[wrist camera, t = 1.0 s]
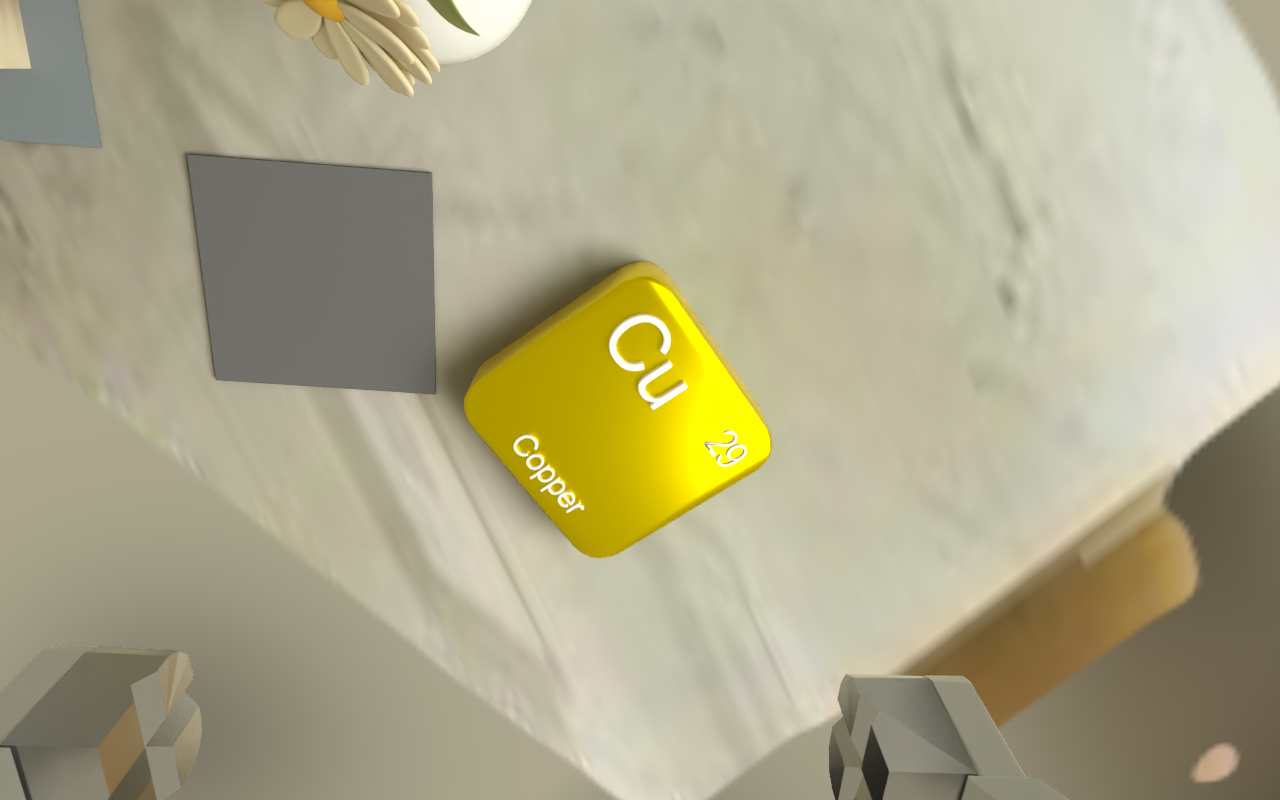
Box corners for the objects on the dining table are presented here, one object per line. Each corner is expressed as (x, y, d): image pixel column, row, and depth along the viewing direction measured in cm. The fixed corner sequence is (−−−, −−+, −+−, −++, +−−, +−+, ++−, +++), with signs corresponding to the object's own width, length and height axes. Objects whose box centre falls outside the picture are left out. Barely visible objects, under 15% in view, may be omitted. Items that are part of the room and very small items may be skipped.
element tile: (461, 376, 53) (446, 404, 49) (649, 246, 50) (652, 263, 46) (594, 536, 58) (592, 575, 53) (774, 427, 55) (787, 458, 50)
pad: (189, 154, 47) (186, 154, 47) (432, 172, 48) (430, 173, 47) (218, 378, 52) (216, 380, 52) (436, 392, 53) (435, 394, 53)
